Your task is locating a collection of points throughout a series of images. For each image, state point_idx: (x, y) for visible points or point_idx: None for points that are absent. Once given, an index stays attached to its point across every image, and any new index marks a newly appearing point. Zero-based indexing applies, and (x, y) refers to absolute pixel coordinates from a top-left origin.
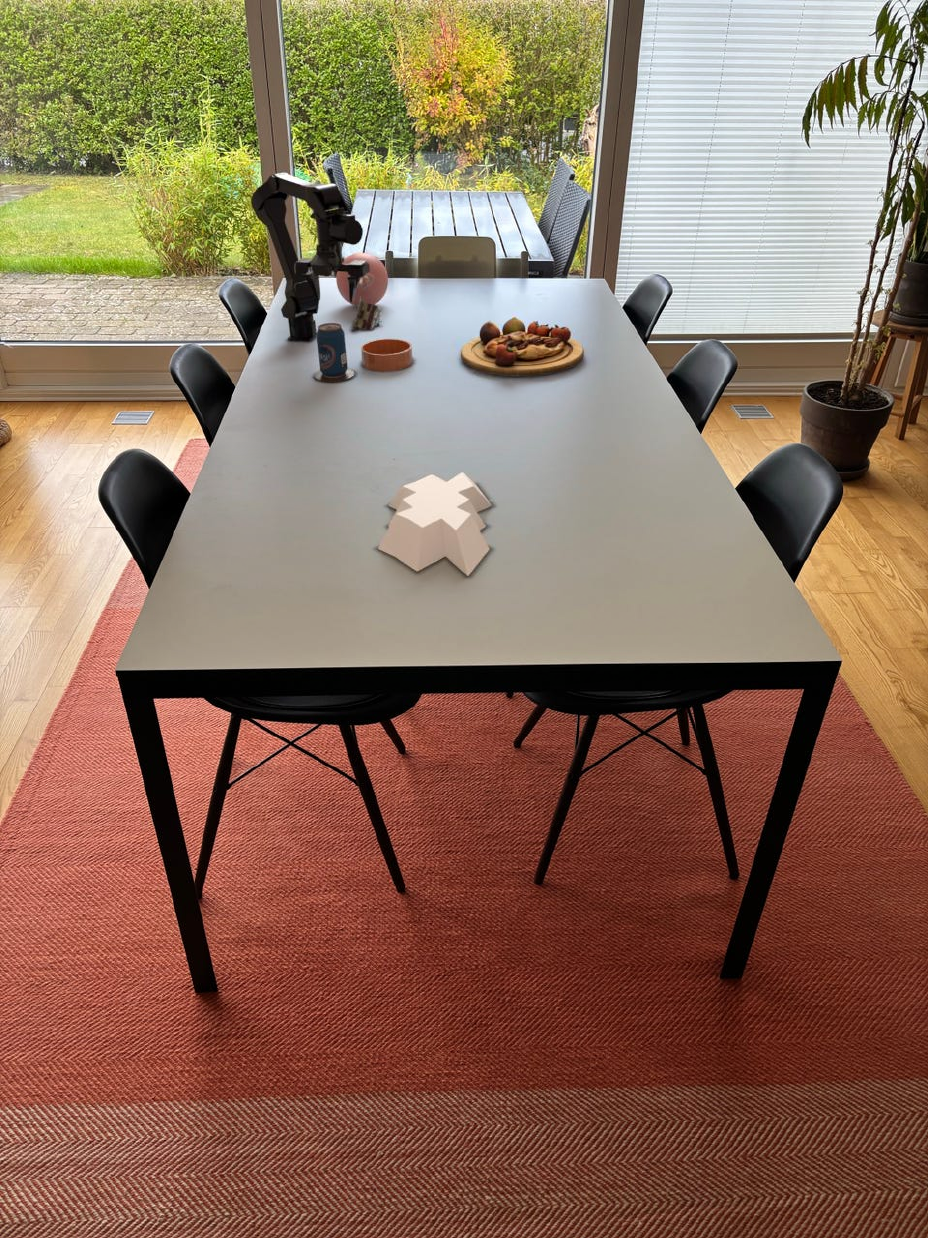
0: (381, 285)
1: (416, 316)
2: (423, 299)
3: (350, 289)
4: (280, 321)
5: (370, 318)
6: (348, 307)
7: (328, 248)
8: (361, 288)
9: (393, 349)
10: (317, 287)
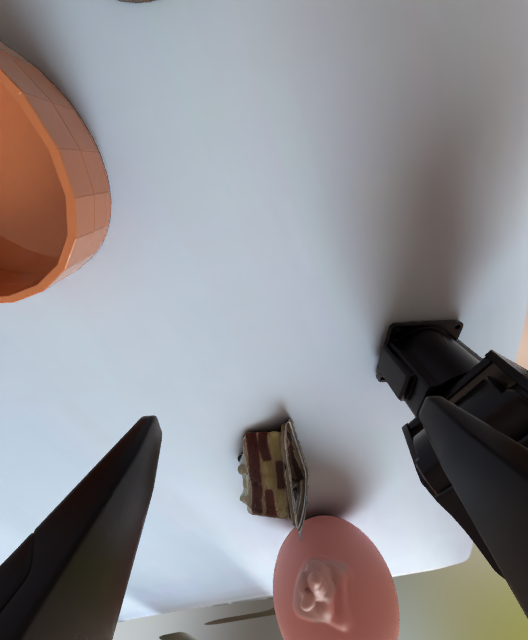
0: (277, 581)
1: (186, 507)
2: (221, 557)
3: (54, 543)
4: None
5: (255, 467)
6: (346, 510)
7: None
8: (313, 564)
9: (28, 278)
10: (507, 512)
